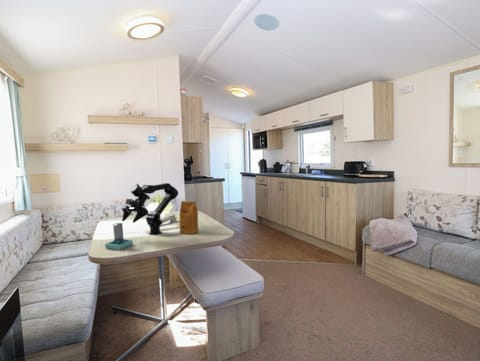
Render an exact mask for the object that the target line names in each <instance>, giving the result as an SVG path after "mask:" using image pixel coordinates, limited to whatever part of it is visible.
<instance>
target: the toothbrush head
mask: <svg viewBox="0 0 480 361" xmlns="http://www.w3.org/2000/svg"><path fill="white" fill-rule="evenodd" d="M160 220H161V221H162V224H164V223H166V222H168V221H169V223H176V222H177V216H176V215H175V214H174V213H172V214H170V215H169V216H166V217H163V218H160ZM148 227H149V228H150V225H148Z"/></svg>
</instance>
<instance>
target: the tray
mask: <svg viewBox="0 0 480 361" xmlns="http://www.w3.org/2000/svg"><path fill="white" fill-rule="evenodd" d="M104 244H105V246H104V247H105V249H106V250H112V251H115V250H116V251H122V250H124V249H126V248H128V247H131V246H133V245H134V243H133V239H127V238H124V243H123V244H120V245H117V244H115V240H112V241H109V242H107V243H104Z"/></svg>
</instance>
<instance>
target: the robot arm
mask: <svg viewBox="0 0 480 361" xmlns="http://www.w3.org/2000/svg"><path fill="white" fill-rule="evenodd" d="M162 190H163V191H164V198H162V200H161V202H160V203H159V204H158V205H157V207H156V208H155V209H154V210H150V211H149V210H148V209H147V208H146V207H145V204H146V201H147V200H150V199H151V198H150V195H151V194H154V193H155V192H157V191H162ZM128 191H129V192H130V194H132V195H133V196H134V197H136V198H133V199H132V198H126V200H125V205H122V206H121V208H120V209H121V210H122V211H123V213H122V222H125V221H126V220H127V219H128V217H130V215H131V214H132V212H135V213H136V214H135V215H134V216H135V217H134V218H133V220H132V223H133V224H134V223H136V222H137V221H139V220H140V219H142V218H144V217H146V218H145V221H146V223H147V225H148V226H149V225H150V227H149V230H150V232H149V233H148V235H154V236H155V235H156V236H157V235H160V234H161V233H162V231H161V228H160V226H161V225H162V224H163V223H162V221H161V220H160V219H161V215H162V213H163V212H164V210H165V209H166V208H167V206H168V205H169V204H170V203H171V201H172V200H175V199H176V198H177V197H178V196H179V191H178V190H177V189H176V187H174V186H172V185H171V183H166V182H164V183H159V184H143V185H142V186H140V184H138V183H134V184H133V185H131V186H130V187H129V189H128Z"/></svg>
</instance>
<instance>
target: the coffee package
mask: <svg viewBox="0 0 480 361" xmlns="http://www.w3.org/2000/svg"><path fill="white" fill-rule="evenodd" d="M196 204H197V203H196V201H185V200H182V201H181V203H180V210H179V234H186V235H194V234H196V233H197V232H198V231H199V224H198V223H199V217H198V216H199V215H198V214H199V211H198V209H197V205H196Z"/></svg>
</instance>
